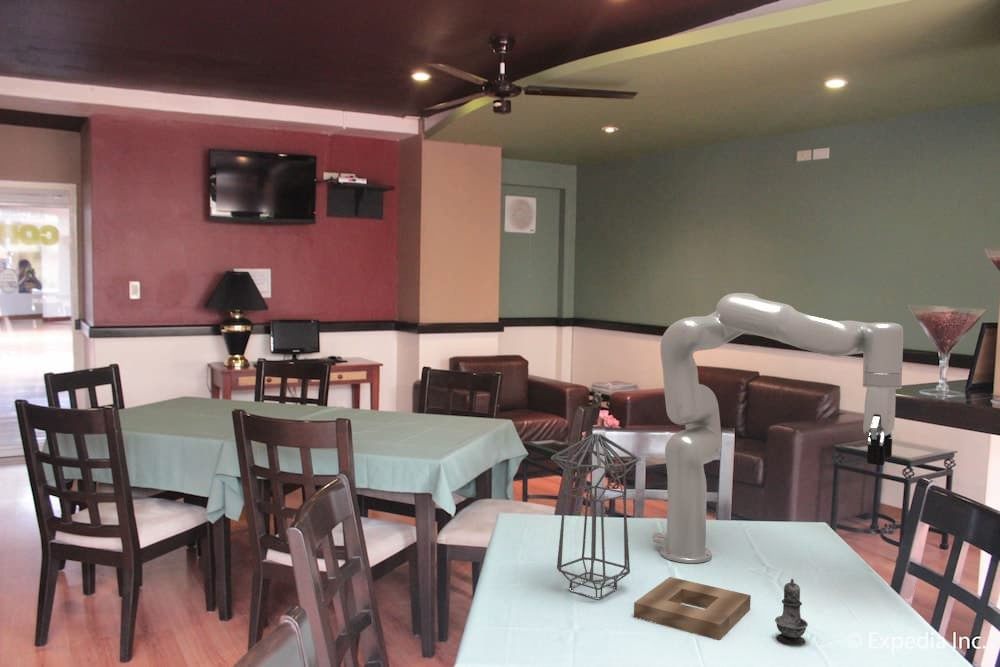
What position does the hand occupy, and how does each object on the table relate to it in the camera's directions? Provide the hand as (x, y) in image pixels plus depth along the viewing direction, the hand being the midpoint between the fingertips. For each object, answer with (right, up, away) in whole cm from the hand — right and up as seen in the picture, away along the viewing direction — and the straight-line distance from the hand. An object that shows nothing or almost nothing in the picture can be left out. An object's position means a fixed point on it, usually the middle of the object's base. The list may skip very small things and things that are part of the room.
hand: (879, 460), depth 170 cm
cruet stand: (-41, -31, -6) cm, 52 cm away
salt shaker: (-26, -32, -18) cm, 45 cm away
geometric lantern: (-60, -30, +8) cm, 68 cm away
